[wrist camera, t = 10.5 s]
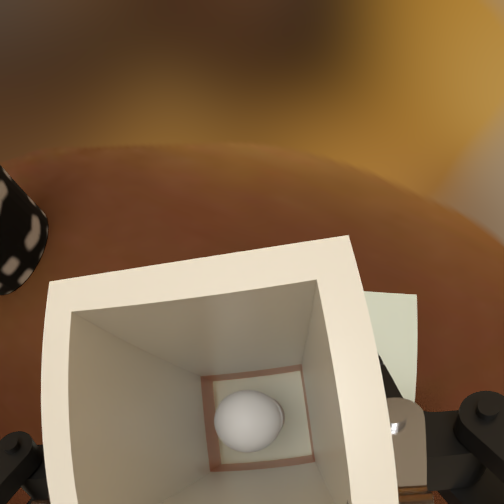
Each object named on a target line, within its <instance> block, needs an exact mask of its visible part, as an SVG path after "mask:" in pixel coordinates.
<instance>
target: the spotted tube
mask: <svg viewBox="0 0 504 504" xmlns="http://www.w3.org/2000/svg"><path fill="white" fill-rule="evenodd" d="M47 235H48V222H47V218H46V215H45V213H44V212H43V211H42V210H41V209H40V208H39V207H38V206H37V205H36V204H35V203H34V202H33V201H32V200H31V199H30V197H29V196H28V195H27V194H26V193H25V192H24V191H23V190H22V189H21V188H20V187H19V186H18V185H17V183H16V182H15V181H14V180H13V179H12V178H11V177H10V176H9V175H8V173H7V172H6V171H5V170H4V169H3V168H2V167H1V165H0V295H4V294H8V293H10V292H12V291H14V290H16V289H17V288H18V287H20V286H21V285H22V284H23V283H24V282H25V281H26V280H27V279H28V277H29V276H30V275H31V273H32V272H33V271H34V269H35V267H36V265H37V264H38V262H39V260H40V258H41V256H42V253H43V251H44V248H45V245H46V241H47Z"/></svg>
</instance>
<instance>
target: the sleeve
mask: <svg viewBox="0 0 504 504" xmlns="http://www.w3.org/2000/svg"><path fill="white" fill-rule="evenodd" d="M294 371H300V372H301V379H302V386H303V393H304V400H305V407H306V414H307V421H308V429H309V436H310V444H311V452H312V455H308V456H301V457H294V458H287V459H279V460H270V461H260V462H248V463H233V464H221V457H220V448H219V439H218V435H217V433H216V430H215V426H214V416H215V412H216V411H215V401H214V390H213V381H222V380H232V379H242V378H250V377H259V376H266V375H274V374H281V373H288V372H294ZM41 416H42V436H43V449H44V460H45V469H46V477H47V484H48V491H49V497H50V503H51V504H347V500H348V503H349V504H399V500H398V487H397V477H396V467H395V458H394V449H393V442H392V434H391V427H390V420H389V414H388V407H387V401H386V395H385V389H384V384H383V378H382V373H381V368H380V362H379V357H378V352H377V348H376V343H375V338H374V334H373V329H372V325H371V320H370V316H369V311H368V307H367V303H366V299H365V295H364V291H363V287H362V283H361V279H360V275H359V272H358V268H357V264H356V260H355V257H354V253H353V250H352V246H351V243H350V239H349V236H348V235H346V236H340V237H333V238H327V239H320V240H314V241H307V242H301V243H294V244H288V245H281V246H275V247H268V248H262V249H255V250H249V251H243V252H236V253H230V254H223V255H217V256H210V257H204V258H197V259H191V260H185V261H178V262H172V263H165V264H159V265H152V266H146V267H140V268H133V269H127V270H120V271H114V272H108V273H101V274H95V275H89V276H82V277H76V278H69V279H63V280H57V281H50V282H49V289H48V297H47V304H46V313H45V323H44V334H43V348H42V369H41Z"/></svg>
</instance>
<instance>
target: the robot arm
mask: <svg viewBox="0 0 504 504" xmlns="http://www.w3.org/2000/svg"><path fill="white" fill-rule="evenodd" d="M378 357H379V362H380V368H381V373H382V378H383V384H384V389H385V395H386V401H387V407H388V414H389V420H390V427H391V434H392V442H393V449H394V458H395V467H396V477H397V487H398V500H399V504H434V499H433V494H432V492H431V491H438V492H439V493H440V495H441V496H442V497H443V498H444V499H445V500H446V501H447V503H448V504H504V396H503V395H501V394H499V393H496V392H492V391H480V392H476V393H473V394H471V395H469V396H468V397H467V398H465V399H464V401H463V402H462V403H461V405H460V408H459V410H456V411H445V412H426V411H423V410H422V409H421V408H420V406H419V405H417V404H416V403H415V402H413V401H411V400H408V399H405V398H403V397H402V395H401V393H400V391H399V389H398V388H397V386H396V384H395V382H394V380H393V378H392V377H391V375H390V373H389V371H388V370H387V368H386V366H385V364H383V361H382V359H381V357H380V356H379V355H378ZM20 487H21V488H22V489H23V490H24V491H25V492H26V493H27V494H28V495H29V496H30V497H31V499H30V500H29V502H28V503H27V504H51V503H50V497H49V491H48V484H47V477H46V469H45V460H44V449H43V445H36V443H35V442H34V441H33V439H32V438H31V437H30V435H29V434H27V433H25V432H21V431H18V432H13V433H10V434H8V435H6V436H5V437H4V438H2V439H1V440H0V504H6V503H7V502H8V501H9V500H10V499H11V498H12V496H13V495H14V494H15V493H16V492H17V491H18V489H19V488H20ZM428 491H429V492H428ZM347 504H349V503H348V500H347Z"/></svg>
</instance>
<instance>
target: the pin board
mask: <svg viewBox="0 0 504 504" xmlns="http://www.w3.org/2000/svg"><path fill="white" fill-rule="evenodd" d="M364 295H365V299H366V303H367V307H368V311H369V316H370V320H371V325H372V329H373V334H374V338H375V343H376V348H377V352H378V355H379V356H380V357H381V359H382V361H383V364H385V366H386V368H387V370H388V371H389V373H390V375H391V377H392V378H393V380H394V382H395V384H396V386H397V388H398V389H399V391H400V393H401V395H402V397H403V398H405V399H408V400H411V401H413V402H415V390H416V372H417V295H412V294H395V293H380V292H365V291H364ZM213 390H214V401H215V411H216V412H215V416H214V426H215V430H216V433H217V435H218V439H219V448H220V457H221V464H233V463H248V462H260V461H270V460H279V459H287V458H294V457H301V456H308V455H312V452H311V444H310V436H309V429H308V421H307V414H306V407H305V400H304V393H303V386H302V379H301V372H300V371H294V372H288V373H281V374H274V375H266V376H259V377H250V378H242V379H232V380H222V381H213Z"/></svg>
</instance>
